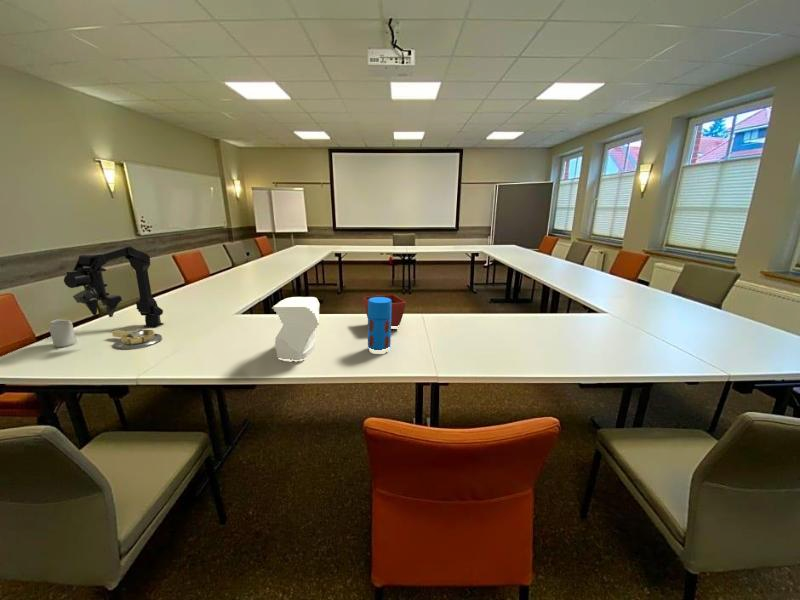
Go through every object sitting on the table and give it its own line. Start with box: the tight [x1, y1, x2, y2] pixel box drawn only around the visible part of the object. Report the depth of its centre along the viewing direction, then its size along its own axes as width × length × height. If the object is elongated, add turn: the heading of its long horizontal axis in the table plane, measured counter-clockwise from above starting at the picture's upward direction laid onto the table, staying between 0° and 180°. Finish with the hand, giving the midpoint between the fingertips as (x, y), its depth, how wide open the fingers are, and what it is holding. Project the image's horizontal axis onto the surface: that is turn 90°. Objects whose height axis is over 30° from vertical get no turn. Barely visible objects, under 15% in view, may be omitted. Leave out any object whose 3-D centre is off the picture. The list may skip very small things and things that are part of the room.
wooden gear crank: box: [111, 327, 155, 344], centre depth 159 cm, size 20×12×4 cm, turn 75°
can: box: [48, 318, 77, 348], centre depth 151 cm, size 8×8×12 cm
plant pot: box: [362, 294, 406, 326], centre depth 187 cm, size 19×19×17 cm
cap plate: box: [114, 329, 163, 351], centre depth 158 cm, size 18×18×6 cm
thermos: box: [367, 297, 392, 350], centre depth 155 cm, size 11×11×25 cm
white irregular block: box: [271, 296, 321, 360], centre depth 149 cm, size 21×27×26 cm
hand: (102, 316), depth 151 cm, fingers open, 9 cm apart
